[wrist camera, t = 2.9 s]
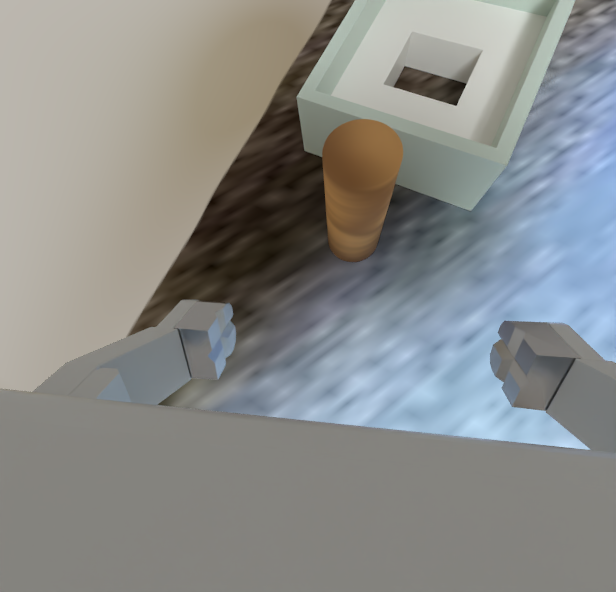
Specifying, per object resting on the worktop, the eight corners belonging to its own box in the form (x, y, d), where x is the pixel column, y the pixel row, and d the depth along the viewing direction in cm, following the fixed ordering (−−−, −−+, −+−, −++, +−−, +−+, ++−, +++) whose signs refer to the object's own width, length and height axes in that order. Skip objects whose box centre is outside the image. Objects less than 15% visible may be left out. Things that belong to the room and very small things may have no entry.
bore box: (385, 10, 31) (395, -66, 26) (540, 48, 28) (586, -28, 23) (304, 150, 28) (296, 96, 22) (470, 211, 25) (507, 165, 19)
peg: (361, 208, 26) (375, 106, 16) (387, 246, 25) (419, 162, 15) (319, 231, 26) (308, 142, 16) (343, 270, 24) (347, 200, 15)
